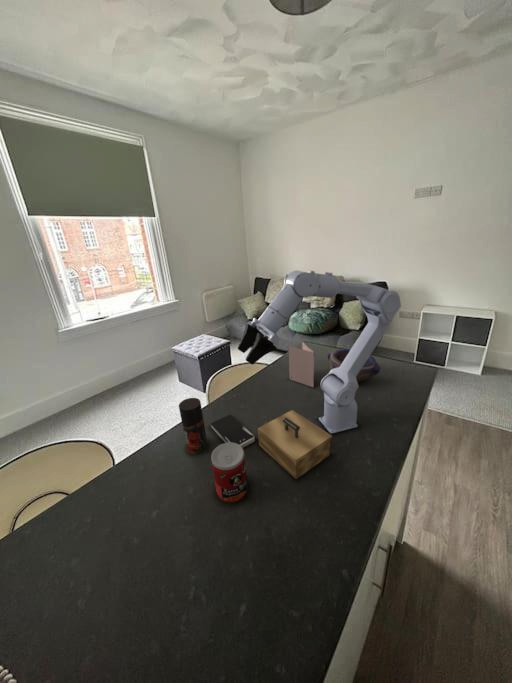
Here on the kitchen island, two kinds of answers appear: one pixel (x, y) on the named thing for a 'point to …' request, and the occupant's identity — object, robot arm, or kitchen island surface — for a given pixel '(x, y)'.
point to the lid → (294, 435)
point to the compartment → (287, 462)
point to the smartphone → (232, 431)
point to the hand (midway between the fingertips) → (244, 356)
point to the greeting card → (301, 365)
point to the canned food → (229, 471)
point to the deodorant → (193, 425)
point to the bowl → (365, 373)
